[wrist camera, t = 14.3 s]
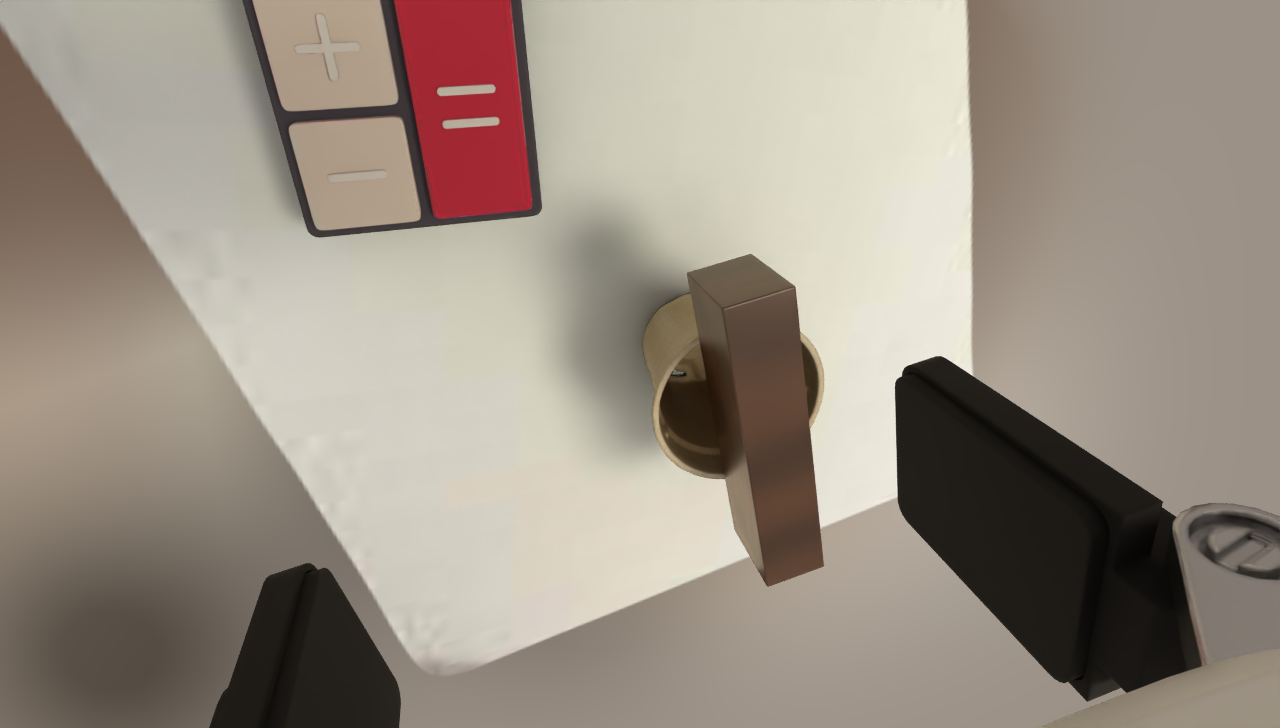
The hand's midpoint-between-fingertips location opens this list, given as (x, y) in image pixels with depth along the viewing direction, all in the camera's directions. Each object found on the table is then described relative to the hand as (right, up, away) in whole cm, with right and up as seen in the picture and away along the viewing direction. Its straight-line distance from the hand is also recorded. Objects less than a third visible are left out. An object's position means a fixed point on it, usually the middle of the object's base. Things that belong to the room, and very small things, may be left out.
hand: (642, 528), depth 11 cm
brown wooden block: (+5, 0, +24) cm, 24 cm away
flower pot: (+3, +4, +32) cm, 32 cm away
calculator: (-11, +17, +21) cm, 30 cm away
